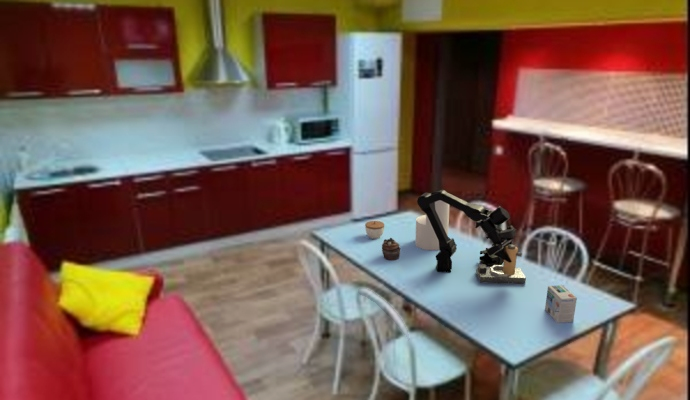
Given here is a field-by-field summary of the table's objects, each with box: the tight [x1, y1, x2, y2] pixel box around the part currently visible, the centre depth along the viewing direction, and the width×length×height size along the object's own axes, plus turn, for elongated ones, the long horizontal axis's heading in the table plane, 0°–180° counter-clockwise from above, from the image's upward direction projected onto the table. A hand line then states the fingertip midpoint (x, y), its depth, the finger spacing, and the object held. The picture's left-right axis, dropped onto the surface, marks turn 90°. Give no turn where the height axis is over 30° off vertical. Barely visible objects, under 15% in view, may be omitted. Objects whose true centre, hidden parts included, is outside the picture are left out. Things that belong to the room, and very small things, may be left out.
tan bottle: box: [502, 244, 523, 275], centre depth 210 cm, size 7×5×13 cm
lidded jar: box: [364, 220, 385, 240], centre depth 270 cm, size 11×11×9 cm
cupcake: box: [381, 237, 402, 261], centre depth 244 cm, size 10×10×10 cm
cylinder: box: [414, 200, 450, 251], centre depth 256 cm, size 17×17×28 cm
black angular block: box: [479, 247, 504, 267], centre depth 235 cm, size 10×7×7 cm
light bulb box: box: [544, 284, 578, 324], centre depth 189 cm, size 11×7×11 cm, turn 5°
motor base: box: [475, 263, 527, 285], centre depth 220 cm, size 20×10×5 cm, turn 85°
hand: (513, 260), depth 209 cm, fingers closed on tan bottle, 5 cm apart
